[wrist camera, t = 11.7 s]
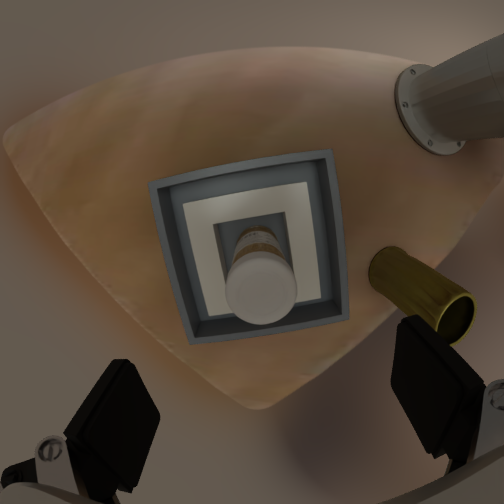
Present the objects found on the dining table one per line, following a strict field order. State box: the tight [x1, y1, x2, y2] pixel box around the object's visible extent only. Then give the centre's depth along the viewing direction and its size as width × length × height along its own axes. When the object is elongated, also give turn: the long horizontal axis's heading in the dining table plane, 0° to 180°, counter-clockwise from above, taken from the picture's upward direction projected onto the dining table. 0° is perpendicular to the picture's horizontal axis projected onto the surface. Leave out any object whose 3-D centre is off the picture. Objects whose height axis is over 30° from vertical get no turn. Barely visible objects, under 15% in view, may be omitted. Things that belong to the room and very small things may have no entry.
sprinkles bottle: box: [225, 225, 297, 325], centre depth 23 cm, size 5×5×14 cm
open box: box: [148, 149, 349, 345], centre depth 28 cm, size 18×18×4 cm
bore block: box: [183, 182, 321, 316], centre depth 28 cm, size 12×12×3 cm
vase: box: [369, 247, 477, 347], centre depth 24 cm, size 6×6×14 cm
